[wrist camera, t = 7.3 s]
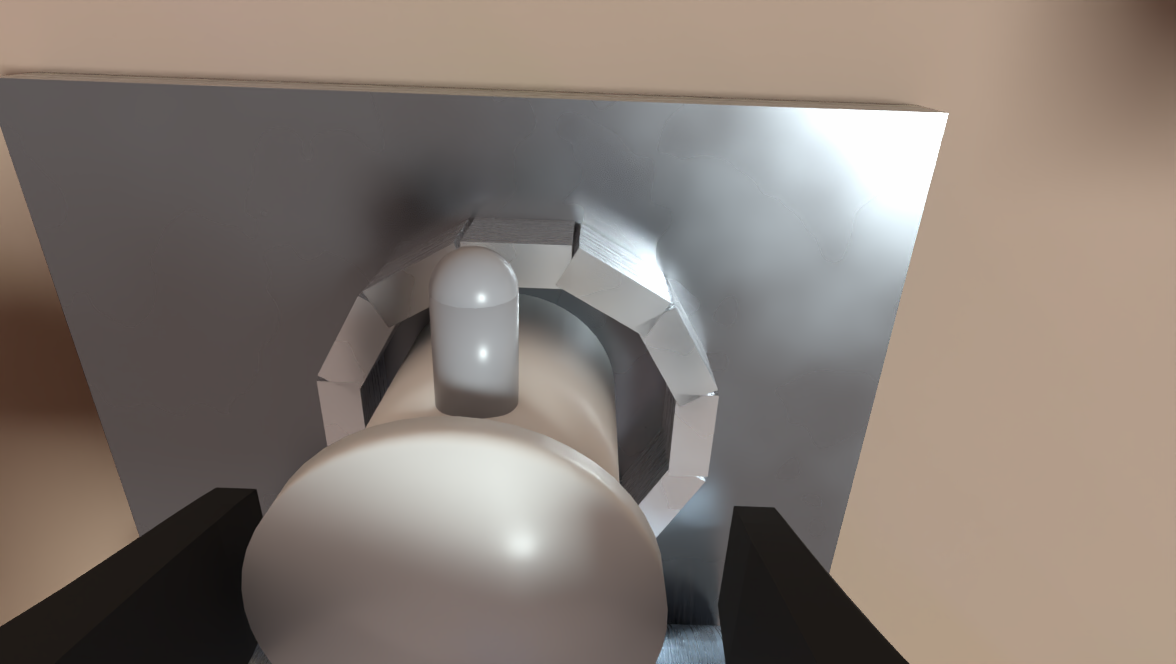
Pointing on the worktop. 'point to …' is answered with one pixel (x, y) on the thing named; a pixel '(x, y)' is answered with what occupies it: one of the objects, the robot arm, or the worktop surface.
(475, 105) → the motor mount
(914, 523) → the worktop surface
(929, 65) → the worktop surface
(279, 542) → the white mushroom knob
